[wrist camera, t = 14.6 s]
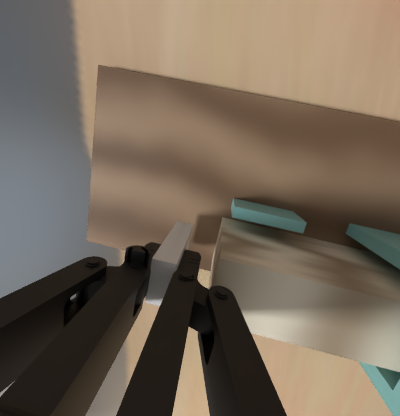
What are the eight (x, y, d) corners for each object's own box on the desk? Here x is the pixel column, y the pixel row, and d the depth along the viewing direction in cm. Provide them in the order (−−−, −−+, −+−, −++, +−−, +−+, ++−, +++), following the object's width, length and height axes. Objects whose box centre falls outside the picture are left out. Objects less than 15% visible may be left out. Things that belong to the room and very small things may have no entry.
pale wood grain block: (212, 258, 19) (204, 320, 12) (222, 217, 18) (220, 258, 11) (370, 297, 19) (462, 389, 11) (390, 256, 17) (506, 328, 10)
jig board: (105, 69, 17) (98, 64, 17) (465, 138, 16) (481, 137, 15) (93, 236, 21) (86, 240, 20) (380, 306, 20) (388, 314, 19)
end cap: (233, 198, 18) (234, 206, 15) (293, 211, 18) (306, 222, 15) (214, 273, 20) (212, 293, 17) (268, 286, 19) (276, 309, 16)
